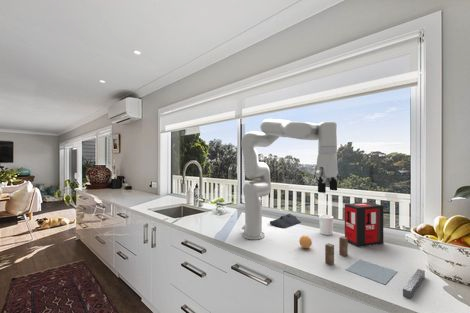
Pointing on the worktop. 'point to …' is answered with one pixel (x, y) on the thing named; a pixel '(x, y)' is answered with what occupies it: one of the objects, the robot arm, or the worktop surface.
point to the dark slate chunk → (285, 221)
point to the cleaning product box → (364, 224)
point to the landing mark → (372, 271)
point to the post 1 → (329, 254)
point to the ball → (305, 241)
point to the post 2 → (343, 246)
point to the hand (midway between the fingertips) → (327, 191)
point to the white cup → (326, 224)
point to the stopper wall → (413, 284)
